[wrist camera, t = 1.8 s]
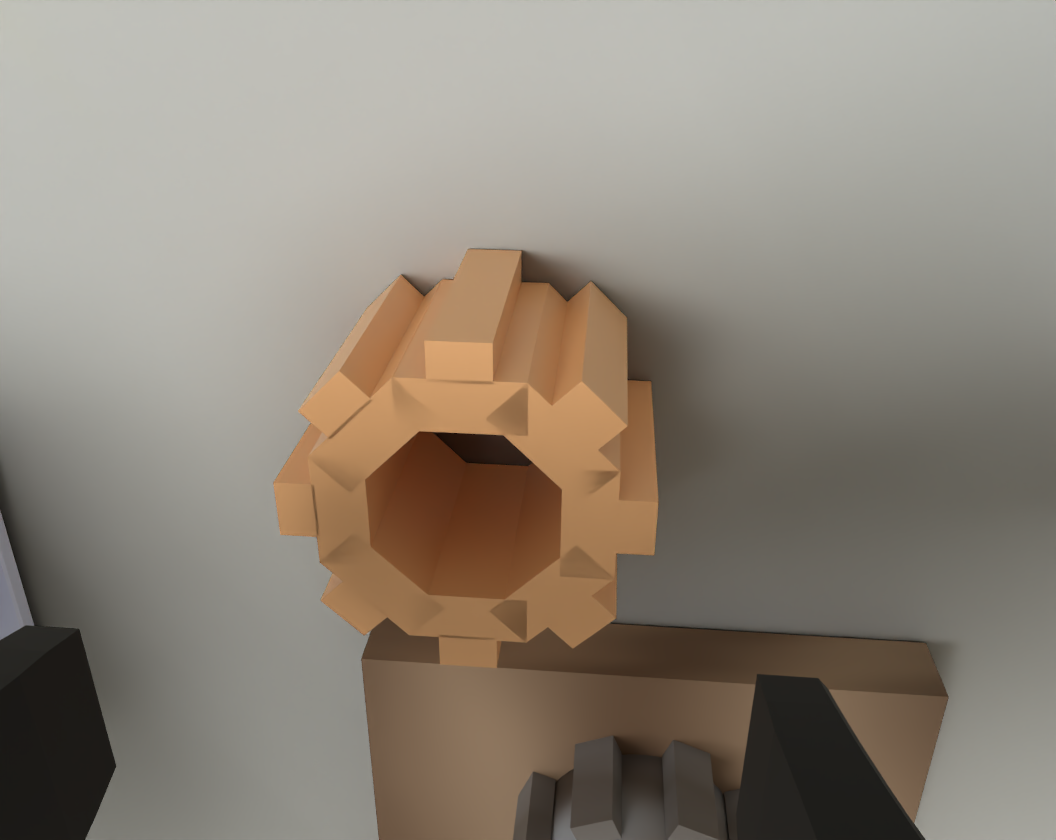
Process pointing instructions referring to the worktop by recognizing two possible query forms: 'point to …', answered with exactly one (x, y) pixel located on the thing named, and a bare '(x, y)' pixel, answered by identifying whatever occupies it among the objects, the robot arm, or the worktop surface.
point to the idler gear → (477, 489)
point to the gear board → (617, 729)
